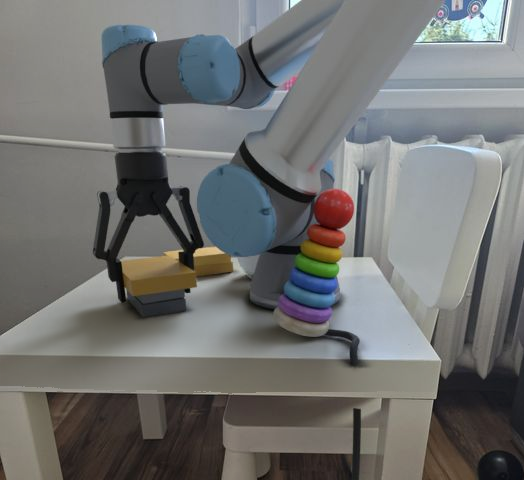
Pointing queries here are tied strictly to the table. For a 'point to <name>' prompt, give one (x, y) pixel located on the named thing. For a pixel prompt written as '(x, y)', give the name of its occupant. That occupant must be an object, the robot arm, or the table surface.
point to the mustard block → (156, 275)
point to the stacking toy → (316, 268)
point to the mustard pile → (207, 261)
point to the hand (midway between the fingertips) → (154, 295)
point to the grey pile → (159, 302)
